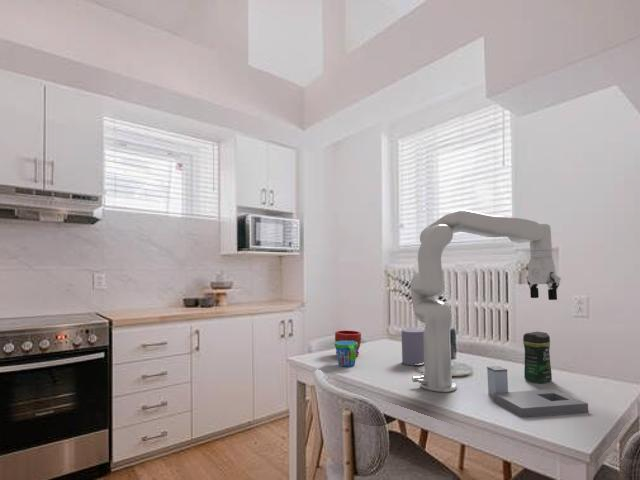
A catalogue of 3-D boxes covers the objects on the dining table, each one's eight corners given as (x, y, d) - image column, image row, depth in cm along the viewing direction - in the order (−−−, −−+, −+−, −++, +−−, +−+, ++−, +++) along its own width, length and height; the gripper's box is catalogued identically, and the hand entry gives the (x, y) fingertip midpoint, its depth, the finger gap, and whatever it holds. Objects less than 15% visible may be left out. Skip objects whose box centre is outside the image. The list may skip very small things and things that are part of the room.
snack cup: (331, 361, 181) (330, 340, 181) (352, 360, 183) (352, 338, 184) (339, 370, 165) (339, 346, 166) (363, 368, 168) (362, 345, 168)
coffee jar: (541, 385, 141) (539, 334, 143) (521, 380, 148) (518, 331, 149) (556, 381, 146) (553, 332, 148) (535, 376, 153) (533, 329, 154)
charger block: (496, 397, 129) (494, 370, 129) (488, 393, 133) (486, 366, 134) (508, 396, 130) (507, 369, 130) (500, 392, 134) (498, 366, 135)
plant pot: (353, 360, 184) (353, 334, 185) (330, 356, 191) (330, 332, 192) (365, 354, 195) (365, 330, 195) (343, 352, 202) (343, 328, 203)
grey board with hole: (522, 417, 112) (521, 408, 112) (493, 400, 126) (493, 393, 126) (588, 411, 115) (587, 403, 116) (553, 396, 129) (552, 389, 129)
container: (429, 365, 172) (428, 331, 173) (407, 366, 170) (406, 332, 171) (419, 360, 182) (418, 328, 183) (399, 361, 180) (398, 329, 181)
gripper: (517, 256, 159) (520, 297, 158) (548, 254, 142) (551, 300, 141) (534, 255, 160) (536, 297, 159) (566, 254, 143) (569, 300, 142)
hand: (543, 298), depth 150 cm, fingers open, 9 cm apart
